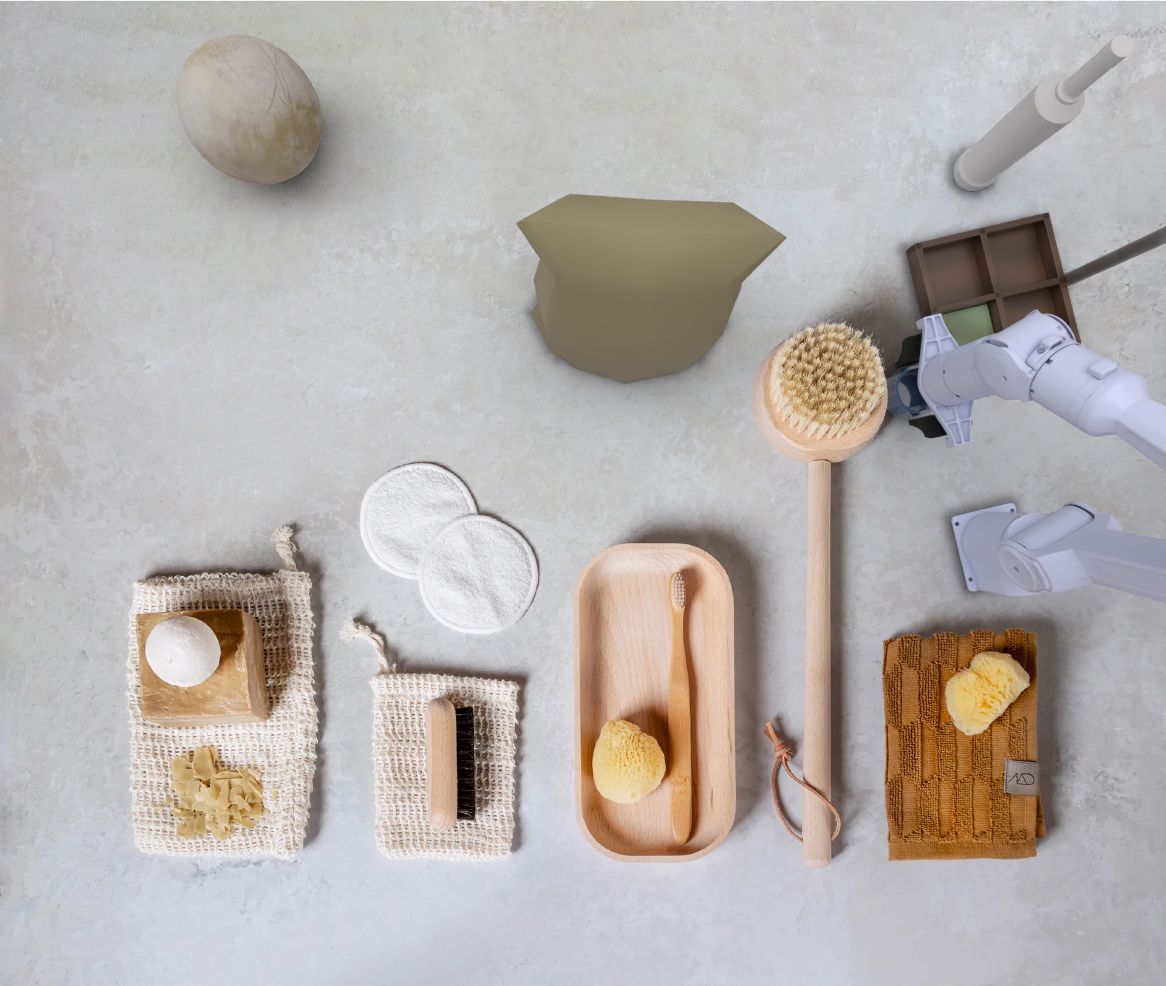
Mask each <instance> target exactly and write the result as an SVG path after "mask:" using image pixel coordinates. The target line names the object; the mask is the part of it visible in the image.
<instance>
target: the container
mask: <svg viewBox="0 0 1166 986" xmlns="http://www.w3.org/2000/svg"><path fill="white" fill-rule="evenodd" d="M515 224H516V225H517V227H518V229H519V230H520V232H521V233H522V236H524V238H525V240H527V242H528V244H529V245H530V246H531V248H532V249H533V251H534V252H535V254H536V256H537V257H538V258H539V260H538V263H537V267H536V270H535V273H534V276H533V284H534V289H535V294H536V299H537V300H536V301H537V303H536V305H535V306H534V308H533V309H532V311H531V312H530V314H531V316H532V318H533V320H534V323H535V324H536V326H537V328H538V330H539V331H540V334H541V335H542V337H543V339H544V340H545V342H546V344H547V346H548V348H549V350H550V352H551V353H553V354H554V355H555V356H558V358H561V359H563V360H565V361H566V362H567V363H568V364H569V365H571V366H572V367H573V368H574V369H577V370H581V371H583V372H588V373H590V374H594V375H597V376H601V377H604V378H607V379H610V380H614V381H616V382H620V383H623V384H629V383H630V384H631V383H636V382H640V381H647V380H651V379H656V378H660V377H661V378H662V377H666V376H671V375H675V374H680V373H681V372H683V371H684V370H685V369H687V368H688V367H690V366H692V365H693V364H695V363H697V362H700V361H702V359H703V358H704V357H705V355H706V354H707V353H708V352H709V351H710V350H711V349H712V347H713V346H714V345H715V344H716V343H717V342H718V340H720V338H721V337H722V336H723V335H724V333H725V330H726V327H727V324H728V322H729V320H730V317H731V314H732V312H733V309H734V307H735V304H736V303H737V299H738V297H739V295H740V292H741V290H742V286H743V285H742V284H743V283H744V281H746V279H747V278H749V277H750V275H752V274H753V273H754V271H756V270H757V269H758V268H759V266H760V265H761V264H763V262H764V261H765V260H766V259H767V258H769V256H770V255H772V254H773V252H775V250H777V248H778V247H779V246H780V245H782V243H783V242H784V241H785V240H786V239H787V236H786V235H784V234H783V233H782V232H780V231H778V230H777V229H775V228H774V227H772V226H771V225H769V224H768V223H766V222H765V221H763V220H761V219H760V218H759V217H757V216H755V215H754V214H752V213H751V212H749V211H748V210H746V209H745V208H743V207H742V206H739V204H736V202H731V201H706V200H705V201H704V200H681V199H680V200H678V199H676V200H675V199H651V198H650V199H648V198H634V197H622V196H621V197H620V196H609V195H608V196H607V195H595V194H594V195H593V194H581V193H569V194H566V195H565V196H562V197H560V198H558V199H556V200H554V201H553V202H551V203H549V204H547V205H545V206H544V207H542V208H540V209H538V210H536V211H535V212H533V213H531V214H529V215H527V216H525V217H524V218H522V219H521V220H518V221H517V222H516V223H515Z"/></svg>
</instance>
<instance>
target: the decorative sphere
mask: <svg viewBox="0 0 1166 986" xmlns="http://www.w3.org/2000/svg"><path fill="white" fill-rule="evenodd" d="M176 106H177V112H178V113H177V114H178V117H179V120H180V122H181V125H182V127H183V130H184V132H185V135H186V136H187V138H188V139H189V141H190V142H191V144H192V146H193V147H194V149H196V151H197V152H198V153H199V154H200V155H201V157H202V158H203V159H205V161H207V163H209V165H211V166H212V167H214V168H215V169H217V170H218V171H220V172H221V173H223V174H224V175H226V176H228V177H230V178H232V179H234V180H237V181H240V182H244V183H247V184H251V185H253V184H254V185H274V184H279V183H282V182H285V181H288V180H290V179H292V178H294V177H296V176H297V175H299V174H301V172H303V171H304V170H305V169H306V168H307V167H308V166H309V165H310V163H311V162H312V161H313V160H314V158H315V156H316V154H317V152H318V150H319V148H320V147H319V146H320V144H321V141H322V135H323V113H322V107H321V104H320V100H319V96H318V94H317V91H316V89H315V87H314V85H313V83H312V81H311V80H310V78H309V77H308V75H307V74H306V72H305V71H304V69H303V68H302V66H300V65H299V64H298V63H297V62H296V61H295V60H294V59H293V58H292V57H291V56H290V55H289V54H288V53H287V52H286V51H284V50H282V48H279V47H278V46H276V45H274V44H273V43H270V42H268V41H266V40H264V39H263V38H258V37H256V36H251V35H246V34H225V35H220V36H216V37H214V38H212V39H209V40H207V41H205V42H203V43H202V44H200V45H199V46H198V47H196V48H195V49H194V50H193V51H192V52H191V54H189V56H188V57H187V58H186V60H185V61H184V63H183V65H182V68H181V69H180V73H179V76H178V79H177V84H176Z"/></svg>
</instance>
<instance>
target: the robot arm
mask: <svg viewBox="0 0 1166 986" xmlns="http://www.w3.org/2000/svg"><path fill="white" fill-rule="evenodd" d="M915 324H916V329H917V331H919V332H920V331H921V332H920V333H917V334H914V335H909V336H907V337H905V338H904V339H903V340H902V341H901V352H900V354H899V356H898V358H897V360H896V361H895V363H894V368H895V370H897V369H902V368H907V367H910V366H914V365H918V364H919V370H918V380H917V382H918V388H919V391H920V393H921V395H922V397H923V398H924V400H925V401H926V403H927V404H928V406H929V407H930V409H931V410H932V412H931V413H932V414H929V415H924V416H920V417H916V418H912V419H907V421H908V426H910V427H913V428H917V429H918V430H920V432H921V433H922V434H923V437H924V438H926V439H936V438H941V437H945V436H947V437H946V438H945V439H944V443H945V447H946V449H949V448H955V447H956V448H957V447H960V446H964V445H968V444H972V443H973V436H972V426H973V415H974V404H975V401H976V400H981V399H984V398H988V397H992V396H995V395H996V396H997V397H999V398H1000V399H1003V400H1005V401H1014V400H1018V401H1020V402H1022V403H1029V402H1032V401H1033V402H1035V403H1037V404H1038V405H1039V406H1042V407H1043V408H1045V409H1046V410H1048V411H1049V412H1051V413H1052V414H1053V415H1055V416H1057V417H1059V418H1060V419H1062V420H1064V421H1065V422H1067V423H1068V424H1070V425H1071V426H1073V427H1075V428H1076V429H1078V430H1079V431H1081V432H1083V433H1084V434H1086V435H1087V436H1089V437H1093V438H1094V437H1097V438H1098V437H1105V436H1113V435H1116V436H1117V437H1119V438H1120V439H1121V440H1123V441H1124V442H1125V443H1127V444H1128V445H1129V446H1131V447H1132V448H1134V449H1135V450H1136V451H1138V452H1139V453H1140V454H1142V455H1143V456H1144V457H1145V458H1147V459H1149V460H1150V461H1151V462H1153V464H1155V465H1157V466H1158V467H1160V468H1161V469H1162V470H1163V471H1165V472H1166V405H1165V404H1163V403H1161V402H1159V401H1156V400H1154V399H1152V398H1151V396H1150V391H1149V385H1148V382H1147V380H1146V378H1145V377H1144V376H1143V375H1141V374H1139V373H1137V372H1136V371H1133V370H1131V369H1129V368H1127V367H1126V366H1124V365H1121V364H1120V363H1118V362H1116V361H1114V360H1112V359H1111V358H1108V357H1106V356H1105V355H1103V354H1101V353H1099V352H1098V351H1095V350H1093V349H1091V348H1090V347H1088V346H1086V345H1084V344H1082V343H1081V344H1080V343H1078V342H1076V339H1075V336H1074V334H1073V332H1072V331H1071V329H1070V327H1069V326H1068V325H1067V324H1066V323H1065V322H1064V321H1063V320H1062V319H1060V318H1059V317H1057V316H1055V315H1052V314H1041V313H1040V312H1039V311H1038V310H1034V311H1032V312H1030V313H1029V314H1028V315H1027V316H1026V317H1025V318H1023V319H1021V320H1020V321H1018V322H1016V323H1015V324H1013V325H1011V326H1009V327H1008V328H1006V329H1004V330H1002V331H1001V332H999V333H995V334H992V335H988V336H985V337H982V338H980V339H978V340H975V341H973V342H970V343H968V344H965V345H963V346H961V347H959V345H958V344H957V342H956V341H955V339H954V338H953V335H952V333H951V331H950V330H948V329H947V327H946V325H945V323H944V321H943V318H942V315H941V313H940V314H936V315H932V316H927V317H924V318H922V317H921V318H920V319H918V320H916V321H915ZM1011 510H1012V512H1011ZM950 523H951V526H952V531H953V536H954V539H955V544H956V548H957V551H958V555H959V560H960V564H961V569H962V572H963V577H964V580H965V584H966V588H967V590H968V591H970V592H977V591H980V592H984V593H989V594H995V595H999V596H1003V597H1028V596H1029V597H1030V596H1035V595H1041V594H1045V593H1048V592H1050V593H1051V594H1060V593H1064V592H1067V591H1071V590H1075V589H1079V588H1082V587H1086V586H1091V585H1099V586H1103V587H1106V588H1109V589H1113V590H1116V591H1119V592H1124V593H1127V594H1130V595H1134V596H1137V597H1141V598H1145V599H1148V600H1152V601H1156V602H1159V603H1162V604H1166V539H1164V538H1159V537H1154V536H1148V535H1144V534H1137V533H1131V532H1128V531H1125V530H1124V528H1123V526H1122V525H1121V523H1120V521H1119V520H1118V519H1117V518H1116V516H1115V515H1114V514H1112V513H1108V512H1102V511H1100V510H1098V509H1096V508H1095V507H1093V506H1092V505H1090V504H1087V503H1085V502H1082V501H1078V500H1072V501H1068V502H1066V503H1064V505H1063V506H1062V507H1061V508H1059V509H1058V510H1056V511H1050V512H1047V513H1044V512H1043V513H1042V512H1018V511H1017V507H1016V504H1015V503H1014V502H1007V503H1003V504H998V505H994V506H989V507H986V508H983V509H978V510H973V511H969V512H965V513H961V514H957V515H953V516H952V517H951V518H950ZM956 523H957V525H956Z"/></svg>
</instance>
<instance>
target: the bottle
mask: <svg viewBox="0 0 1166 986" xmlns="http://www.w3.org/2000/svg"><path fill="white" fill-rule="evenodd" d="M1133 50H1134V42H1133V40H1132V38H1130V37H1129V36H1128V35H1126V34H1118V35H1116V36H1114V37H1113V38H1112V39H1111V40H1110V41H1108V42H1107V43H1106V44H1105V45H1104V46H1103V47H1102V48H1101V49H1100V50H1099V51H1097V53H1096V54H1094V55H1093V56H1092V57H1091V58H1090V59H1089V60H1088V61H1087V62H1085V63H1084V64H1083V65H1082V66H1081V67H1079V68H1078V69H1077V70H1076V71H1074V73H1073V74H1071V75H1068V74H1065V73H1053V74H1051V75H1048V76H1046V77H1044V78H1043V79H1042V80H1041V81H1039V83H1038V84H1037V85H1036V86H1035V87H1034V88H1033V89H1031V91H1029V92H1028V93H1027V94H1026V95H1025V96H1024V97H1023V98H1022V99H1021V100H1020V101H1019V102H1018V103H1017V104H1016V105H1015V106H1014V107H1013V108H1011V110H1010V111H1008V112H1007V113H1006V114H1005V115H1004V116H1003V117H1002V118H1001V119H1000V120H999V121H998V122H997V123H996V124H995V125H994V126H993V127H991V129H990V130H989V131H988V132H986V134H984V135H983V137H981V139H979V140H978V141H977V142H976V143H975V144H974V145H973V146H970V147H968V148H966V149H965V150H964V151H963V152H962V153H961V154H960V156H959V157H957V159H956V161H955V162H954V166H953V170H952V177H953V179H954V181H955V183H956V185H958V187H960V188H961V189H962V190H964V191H968V192H977V191H980V190H983V189H985V188H987V187H988V186H991V185H992V184H993V183H994V182H995V180H996V179H998V177H999V176H1000V175H1001V174H1002V173H1003V172H1006V170H1008V169H1009V168H1010V167H1012V166H1013V165H1014V164H1016V163H1017V162H1019V161H1020V160H1021V159H1023V158H1025V156H1027V155H1028V154H1030V153H1031V152H1032V151H1033V150H1035V149H1036V148H1038V147H1040V146H1041V144H1044V142H1046V141H1047V140H1048V139H1050V138H1051V137H1053V136H1054V135H1055V134H1057V133H1058V132H1060V131H1061V130H1062V129H1064V128H1065V127H1066V126H1067V125H1069V124H1070V123H1072V122H1073V121H1074V120H1075V119H1076V118H1078V116H1079V115H1080V114H1081V113H1082V111H1083V108H1084V106H1085V91H1086V90H1087V89H1088V88H1090V87H1091V86H1092V85H1094V84H1095V83H1096V82H1097V81H1098V80H1099V79H1101V78H1102V77H1103V76H1104V75H1105V74H1107V73H1108V72H1109V71H1110V70H1111V69H1114V68H1115V67H1116V66H1117V65H1118V64H1120V63H1121V62H1122V61H1123V60H1125V59H1126V58H1127V57H1128V56H1130V54H1132V53H1133Z"/></svg>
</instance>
